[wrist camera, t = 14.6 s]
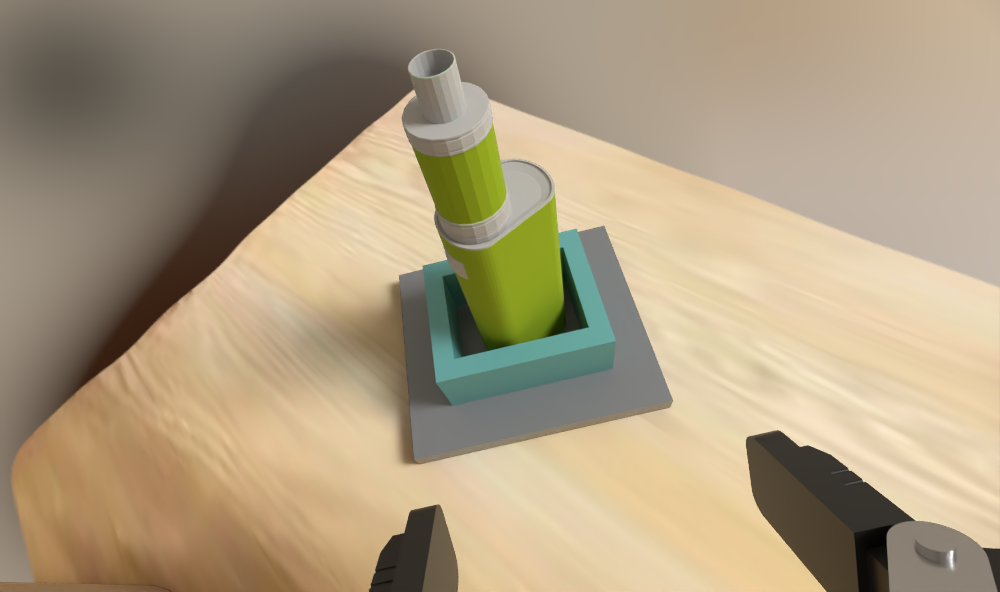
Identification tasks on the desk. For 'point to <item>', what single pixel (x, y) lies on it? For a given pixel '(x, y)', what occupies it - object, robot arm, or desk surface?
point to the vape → (486, 207)
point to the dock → (526, 359)
